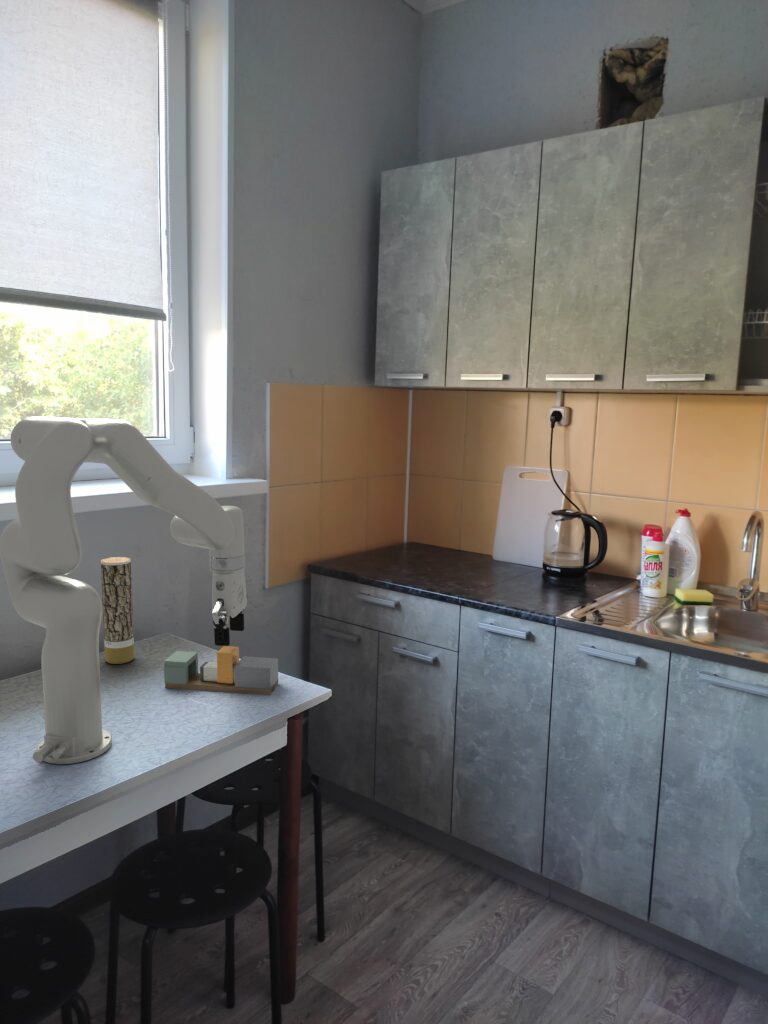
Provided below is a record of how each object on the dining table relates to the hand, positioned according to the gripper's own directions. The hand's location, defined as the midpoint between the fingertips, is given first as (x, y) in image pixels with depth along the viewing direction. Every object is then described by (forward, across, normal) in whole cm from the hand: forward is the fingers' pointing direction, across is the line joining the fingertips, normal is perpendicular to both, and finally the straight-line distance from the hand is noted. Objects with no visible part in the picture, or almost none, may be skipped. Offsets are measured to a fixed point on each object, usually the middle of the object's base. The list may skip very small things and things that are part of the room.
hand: (230, 637), depth 163 cm
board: (+11, -1, +2) cm, 11 cm away
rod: (+10, -1, -1) cm, 10 cm away
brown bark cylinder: (+11, +10, +32) cm, 35 cm away
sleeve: (+10, -1, -6) cm, 12 cm away
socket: (+10, -1, +11) cm, 15 cm away
